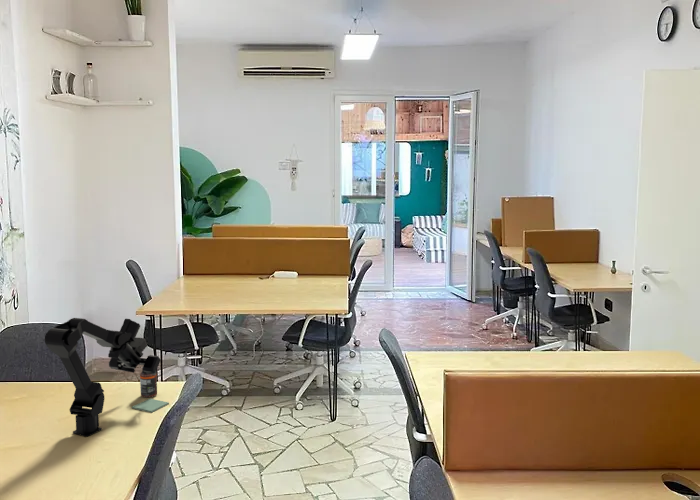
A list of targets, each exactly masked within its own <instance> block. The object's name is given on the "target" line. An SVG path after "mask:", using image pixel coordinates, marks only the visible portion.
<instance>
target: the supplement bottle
mask: <svg viewBox="0 0 700 500" xmlns="http://www.w3.org/2000/svg"><path fill="white" fill-rule="evenodd" d="M157 378H158V377H157V374H156V375H151V374H146V372H144V371H143V366H142V370H141V372H140V374H139V381H140V382H139V383H140V384H139V385H140V396H141V397H142V398H144V399H145V398H146V399H149V398H150V399H151V398H153V397H156V396H157V395H158V383H157V382H158V381H157V380H158V379H157Z"/></svg>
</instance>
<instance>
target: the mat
mask: <svg viewBox="0 0 700 500" xmlns="http://www.w3.org/2000/svg"><path fill="white" fill-rule="evenodd" d="M167 404H168V405H169V404H170V402H169V401H164V400H159V399H153V398H151V397H150V398H146V399H145V400H143V401H141V402H139V403H136V404H134V405H133V406H131V409H132V410H133V409H134V410H139V411H143V412H147V413H151V414H152V413H154V412H156V411H158V410H161V408H164V407H166V406H168V405H167ZM165 405H166V406H165ZM163 406H164V407H163Z"/></svg>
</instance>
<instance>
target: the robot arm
mask: <svg viewBox="0 0 700 500" xmlns="http://www.w3.org/2000/svg"><path fill="white" fill-rule="evenodd" d="M140 328H141V324H140V323H138V322H136V321H134V320H132V319H130V318H125V319H124V321H123V323H122V325H121V327H120V329H119V331H118V330H113V329H107V328H104V327H102V326H100V325H97V324H96V323H93V322H91V321H88V319H86V318H81V317H80V318H79V317H71V318H70V319H68V320H67V321H65V322H63V323H60V324H57V325H55V326H54V327H52V328H50V329H49V330H48V331H47V332H46V333H45V335H44V340H43V341H44V343H45V345H46V347H48V349H49V350H50V351H51V352H52V353H54V355H56V356H58V357H59V358H60V360H61V362H62V364H63V366H64V368H65V370H66V372H67V374H68V376H69V378H70V380H71V381H72V384H73V386H74V388H75V391H74V392H73V393H74V394H73V397H74V400H73V401H72V404H70V405H71V406H70V407H69V414H70V415H75V430H73V431H72V434H74V435H79V436H83V437H85V438H86V437H90V436H91V435H94V434H96V433H98V432H100V431H103V428H102V427H100V421H99V420H100V419H99V418H100V416H99V415H100V414H102V413H103V409H104V404H105V394H104V392H105V390H104V389H103V387H102V384H101V383H100V382H98V381H92V380H91V379H90V376H89V374H88V372H87V370H86V368H85V366H84V364H83V361H82V359H81V358H80V356H79V354H78V351H77V346H78V343H79V340H81V339H82V336H83V335H85V336H87V337H88V338H92V339H94V340H96V343H97V344H98V345H99V346H101V347H104V348H110V350H109V351H108V356H107V357H108V358H110V360H109V361H108V367H109V368H110V369H112V370H116V371H122V372H128V373H135V372H136V369H137V366H139V365H140V366H142V367H143V370H142V371H144V372H146V374H151V375H156V376H157V370H158V368H159V365H160V363H161V360H162V359H161V358H160V356H159V355H151V354H150V355H147V356H146V357H145V358H143V356H144V353H143V352H144V350H145V349H146V348H147V347H148V344H147V341H146V339H145V338H144V337H137V335H138V333H139V330H140Z"/></svg>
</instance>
